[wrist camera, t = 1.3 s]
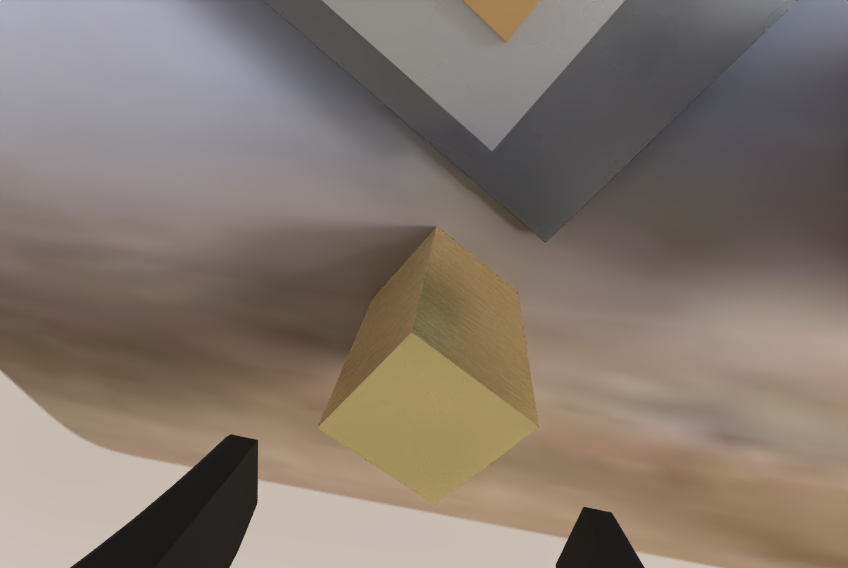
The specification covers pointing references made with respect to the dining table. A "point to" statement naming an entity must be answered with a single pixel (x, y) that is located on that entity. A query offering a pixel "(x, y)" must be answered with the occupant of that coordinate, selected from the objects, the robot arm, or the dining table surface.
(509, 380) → the rectangular block
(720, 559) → the dining table surface
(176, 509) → the robot arm
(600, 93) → the rosette base
